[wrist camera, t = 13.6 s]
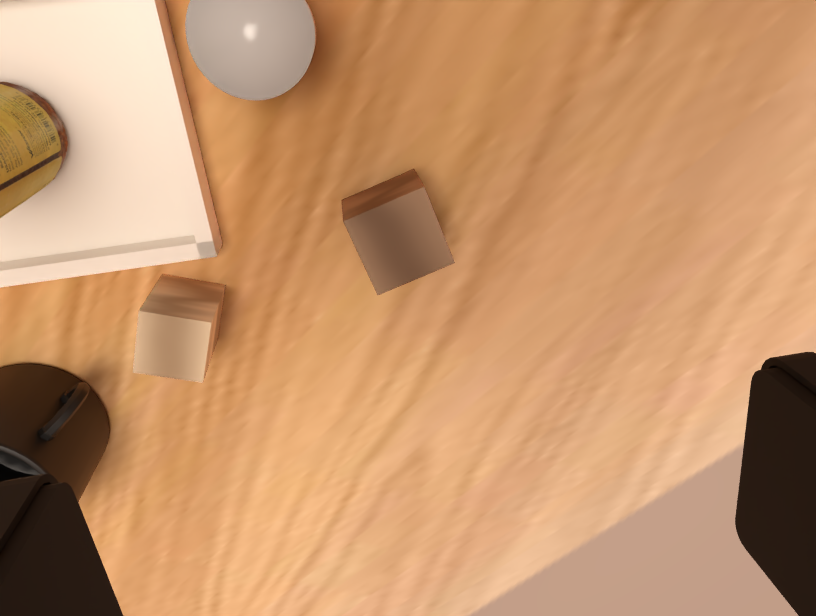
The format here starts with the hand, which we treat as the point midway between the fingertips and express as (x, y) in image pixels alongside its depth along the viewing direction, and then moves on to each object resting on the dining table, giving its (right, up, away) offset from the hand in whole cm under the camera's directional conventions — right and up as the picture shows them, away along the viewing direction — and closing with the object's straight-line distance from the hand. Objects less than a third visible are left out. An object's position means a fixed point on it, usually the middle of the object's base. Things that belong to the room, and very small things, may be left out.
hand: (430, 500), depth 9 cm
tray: (-23, +13, +29) cm, 39 cm away
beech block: (-15, +3, +35) cm, 38 cm away
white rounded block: (-9, +18, +29) cm, 35 cm away
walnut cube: (-1, +8, +34) cm, 35 cm away
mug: (-25, -4, +37) cm, 44 cm away
